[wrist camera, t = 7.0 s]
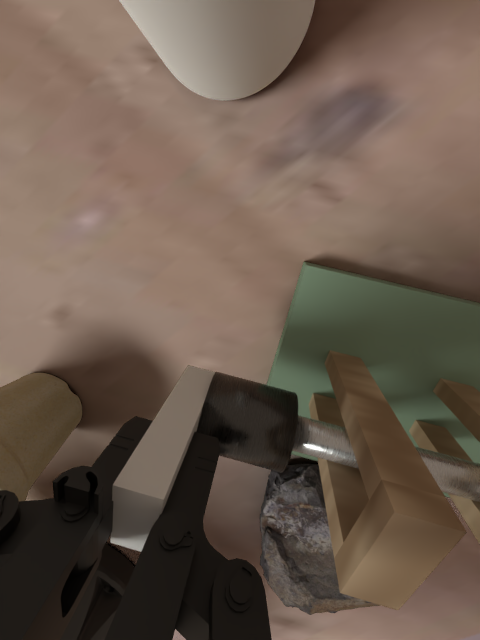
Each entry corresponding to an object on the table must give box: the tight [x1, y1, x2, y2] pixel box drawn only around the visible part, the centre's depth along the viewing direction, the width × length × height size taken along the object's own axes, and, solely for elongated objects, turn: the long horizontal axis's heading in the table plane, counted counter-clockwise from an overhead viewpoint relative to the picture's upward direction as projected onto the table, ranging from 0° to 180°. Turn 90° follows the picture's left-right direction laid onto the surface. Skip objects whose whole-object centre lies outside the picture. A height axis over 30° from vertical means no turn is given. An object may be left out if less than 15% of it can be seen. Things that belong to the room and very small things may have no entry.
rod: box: [197, 372, 480, 502], centre depth 13 cm, size 25×4×8 cm, turn 78°
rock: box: [260, 464, 380, 615], centre depth 22 cm, size 14×11×5 cm
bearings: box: [309, 350, 480, 610], centre depth 13 cm, size 9×4×10 cm, turn 78°
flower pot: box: [0, 373, 82, 501], centre depth 20 cm, size 9×9×9 cm
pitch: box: [267, 262, 480, 498], centre depth 18 cm, size 22×14×2 cm, turn 78°
